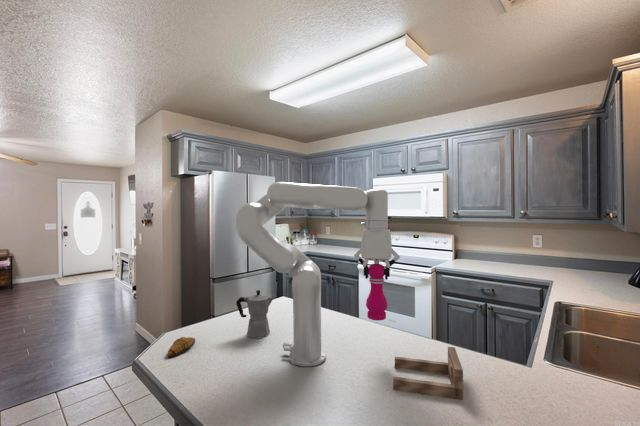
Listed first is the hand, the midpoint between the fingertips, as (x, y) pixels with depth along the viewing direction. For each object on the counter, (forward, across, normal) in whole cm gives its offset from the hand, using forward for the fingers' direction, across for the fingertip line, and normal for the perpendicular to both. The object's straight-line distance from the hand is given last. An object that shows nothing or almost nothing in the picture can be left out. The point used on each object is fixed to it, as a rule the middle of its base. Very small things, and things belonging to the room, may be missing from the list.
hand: (376, 277), depth 104 cm
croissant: (+28, -69, -11) cm, 76 cm away
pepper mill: (+14, 0, 0) cm, 14 cm away
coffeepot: (+28, -50, +8) cm, 58 cm away
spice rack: (+27, +15, -11) cm, 33 cm away
